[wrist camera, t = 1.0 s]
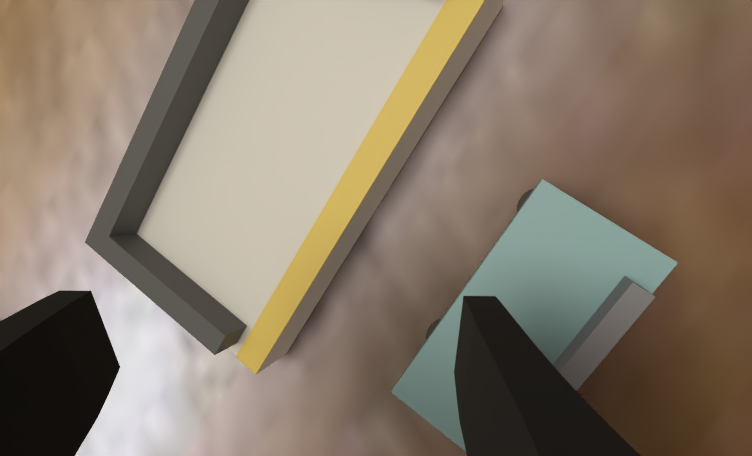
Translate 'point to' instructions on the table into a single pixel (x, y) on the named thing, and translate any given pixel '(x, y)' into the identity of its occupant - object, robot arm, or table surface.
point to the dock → (275, 155)
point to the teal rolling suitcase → (544, 297)
